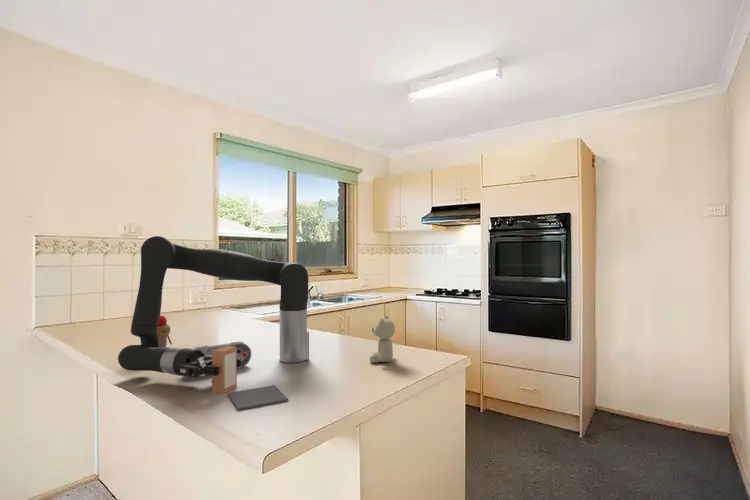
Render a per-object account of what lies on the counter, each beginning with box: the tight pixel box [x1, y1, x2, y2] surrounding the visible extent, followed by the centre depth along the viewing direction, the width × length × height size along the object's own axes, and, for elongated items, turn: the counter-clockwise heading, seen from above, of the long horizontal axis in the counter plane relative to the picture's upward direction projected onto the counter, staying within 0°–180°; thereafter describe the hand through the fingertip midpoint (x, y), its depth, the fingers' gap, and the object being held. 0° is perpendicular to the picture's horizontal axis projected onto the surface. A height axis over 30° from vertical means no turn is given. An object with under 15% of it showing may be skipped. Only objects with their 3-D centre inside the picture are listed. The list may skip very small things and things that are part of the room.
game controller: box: [193, 341, 252, 369], centre depth 127 cm, size 20×2×8 cm, turn 123°
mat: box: [227, 384, 289, 412], centre depth 102 cm, size 12×12×1 cm
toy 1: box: [157, 315, 173, 347], centre depth 141 cm, size 9×9×15 cm
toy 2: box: [369, 315, 396, 364], centre depth 136 cm, size 13×8×15 cm, turn 164°
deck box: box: [211, 346, 238, 395], centre depth 109 cm, size 4×6×11 cm
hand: (229, 367), depth 108 cm, fingers open, 8 cm apart
